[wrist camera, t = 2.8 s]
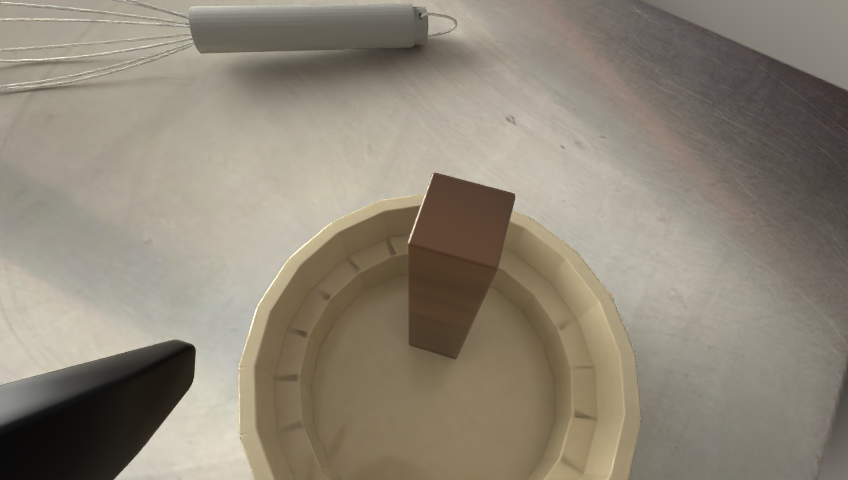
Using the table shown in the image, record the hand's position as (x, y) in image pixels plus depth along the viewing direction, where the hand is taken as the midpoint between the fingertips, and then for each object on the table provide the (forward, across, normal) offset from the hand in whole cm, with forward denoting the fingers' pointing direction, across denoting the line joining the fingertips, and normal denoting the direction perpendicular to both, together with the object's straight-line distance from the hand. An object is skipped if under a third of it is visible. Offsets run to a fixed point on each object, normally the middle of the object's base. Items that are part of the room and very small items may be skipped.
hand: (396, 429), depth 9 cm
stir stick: (+12, 0, +4) cm, 13 cm away
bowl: (+11, 0, +6) cm, 12 cm away
